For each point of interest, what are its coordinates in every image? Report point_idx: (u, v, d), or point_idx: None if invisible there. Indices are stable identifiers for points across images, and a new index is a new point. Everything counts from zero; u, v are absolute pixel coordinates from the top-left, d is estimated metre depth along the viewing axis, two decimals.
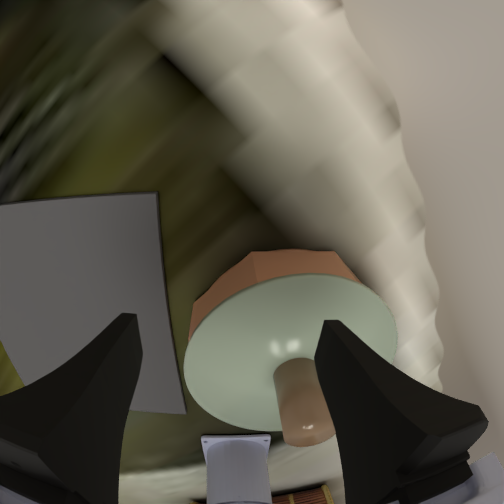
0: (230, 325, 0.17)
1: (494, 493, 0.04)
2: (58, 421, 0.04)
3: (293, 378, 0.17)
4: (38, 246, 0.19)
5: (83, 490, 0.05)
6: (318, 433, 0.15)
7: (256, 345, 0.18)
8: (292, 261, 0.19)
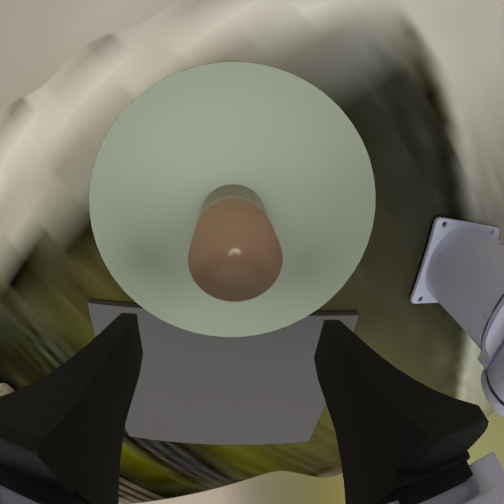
0: (147, 288, 0.16)
1: (494, 493, 0.04)
2: (58, 421, 0.04)
3: None
4: (143, 390, 0.26)
5: (83, 490, 0.05)
6: (238, 250, 0.10)
7: (174, 265, 0.16)
8: None
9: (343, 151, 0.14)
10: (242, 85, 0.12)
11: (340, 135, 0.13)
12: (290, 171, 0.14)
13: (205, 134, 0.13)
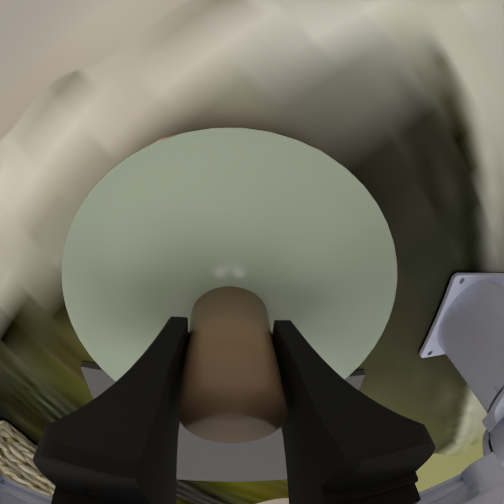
0: None
1: (494, 493, 0.04)
2: (145, 439, 0.05)
3: None
4: None
5: None
6: (235, 410, 0.08)
7: None
8: None
9: (364, 241, 0.11)
10: (237, 162, 0.10)
11: (362, 222, 0.11)
12: (298, 269, 0.12)
13: (191, 228, 0.11)
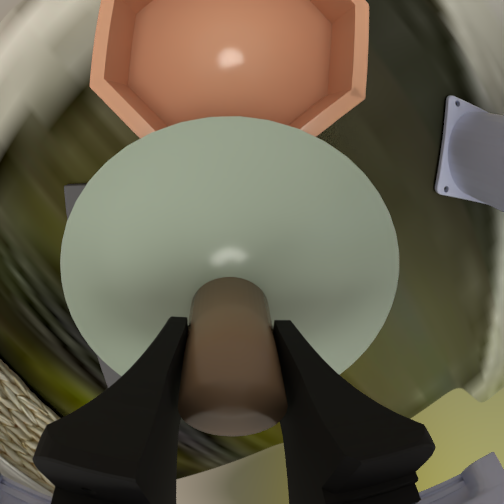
0: None
1: (494, 493, 0.04)
2: (145, 439, 0.05)
3: None
4: None
5: None
6: (235, 404, 0.08)
7: None
8: None
9: (366, 230, 0.11)
10: (235, 151, 0.10)
11: (363, 211, 0.11)
12: (299, 259, 0.12)
13: (189, 219, 0.10)
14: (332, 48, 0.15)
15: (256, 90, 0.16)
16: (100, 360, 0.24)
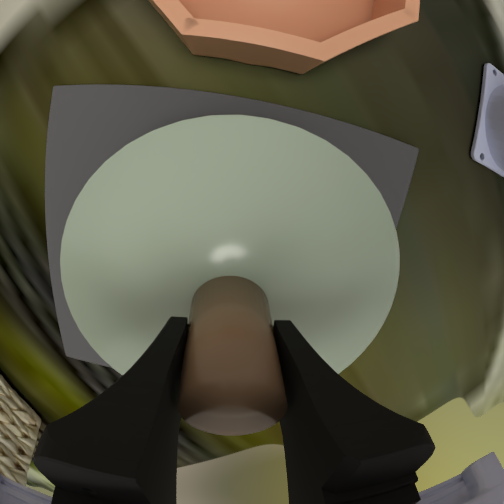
0: None
1: (494, 493, 0.04)
2: (145, 439, 0.05)
3: None
4: None
5: None
6: (235, 404, 0.08)
7: None
8: None
9: (366, 229, 0.11)
10: (235, 149, 0.09)
11: (364, 210, 0.11)
12: (299, 258, 0.12)
13: (189, 218, 0.10)
14: None
15: (295, 6, 0.12)
16: (59, 316, 0.19)
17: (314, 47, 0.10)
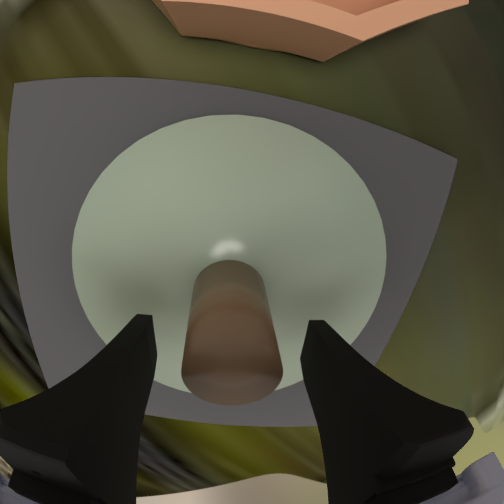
0: None
1: (494, 493, 0.04)
2: (83, 427, 0.04)
3: None
4: (64, 284, 0.13)
5: (106, 496, 0.05)
6: (234, 367, 0.09)
7: (170, 337, 0.14)
8: None
9: (353, 216, 0.12)
10: (234, 144, 0.11)
11: (350, 198, 0.12)
12: (292, 243, 0.13)
13: (193, 206, 0.12)
14: None
15: None
16: (37, 350, 0.15)
17: (348, 21, 0.06)
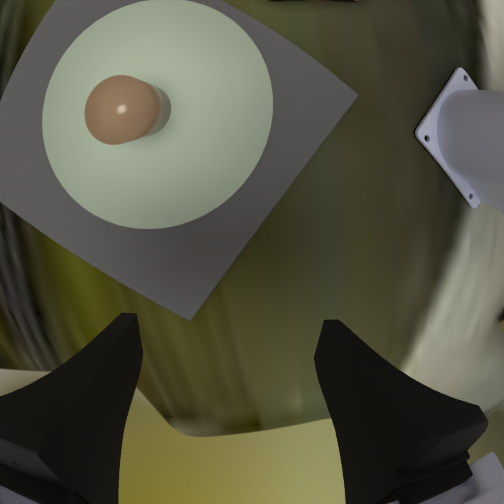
0: (63, 154, 0.16)
1: (494, 493, 0.04)
2: (58, 421, 0.04)
3: None
4: (43, 80, 0.14)
5: (83, 490, 0.05)
6: (120, 101, 0.11)
7: (89, 138, 0.16)
8: None
9: (251, 85, 0.16)
10: (190, 18, 0.13)
11: (252, 72, 0.15)
12: (201, 88, 0.15)
13: (150, 44, 0.14)
14: None
15: None
16: None
17: None
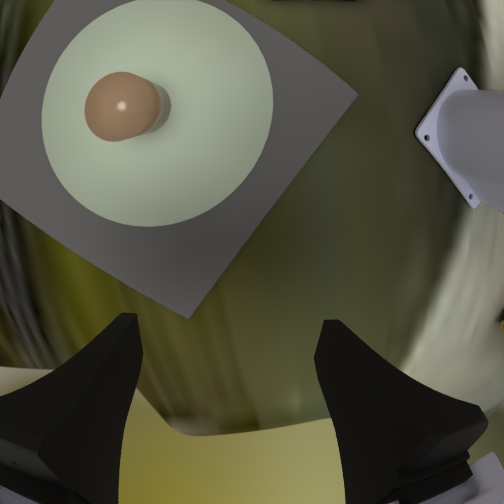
0: (63, 154, 0.16)
1: (494, 493, 0.04)
2: (58, 421, 0.04)
3: None
4: (44, 77, 0.14)
5: (83, 490, 0.05)
6: (120, 97, 0.11)
7: (89, 138, 0.16)
8: None
9: (250, 79, 0.15)
10: (187, 15, 0.13)
11: (251, 66, 0.15)
12: (200, 83, 0.15)
13: (147, 42, 0.14)
14: None
15: None
16: None
17: None
